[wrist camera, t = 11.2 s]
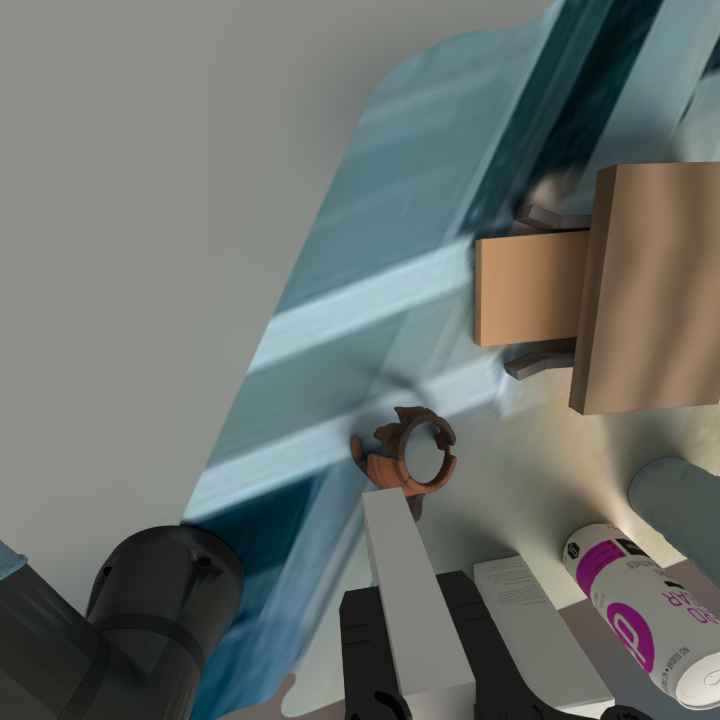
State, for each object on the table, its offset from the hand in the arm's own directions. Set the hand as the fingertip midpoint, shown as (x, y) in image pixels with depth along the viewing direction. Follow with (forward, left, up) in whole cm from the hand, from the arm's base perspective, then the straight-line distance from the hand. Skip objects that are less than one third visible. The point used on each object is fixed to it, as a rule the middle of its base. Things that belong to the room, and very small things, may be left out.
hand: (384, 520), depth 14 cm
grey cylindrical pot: (+37, -19, -23) cm, 48 cm away
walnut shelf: (+25, +5, -23) cm, 34 cm away
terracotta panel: (+21, +6, -23) cm, 32 cm away
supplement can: (+29, -27, -23) cm, 46 cm away
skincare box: (+17, -31, -23) cm, 42 cm away
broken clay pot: (+5, -10, -23) cm, 26 cm away
